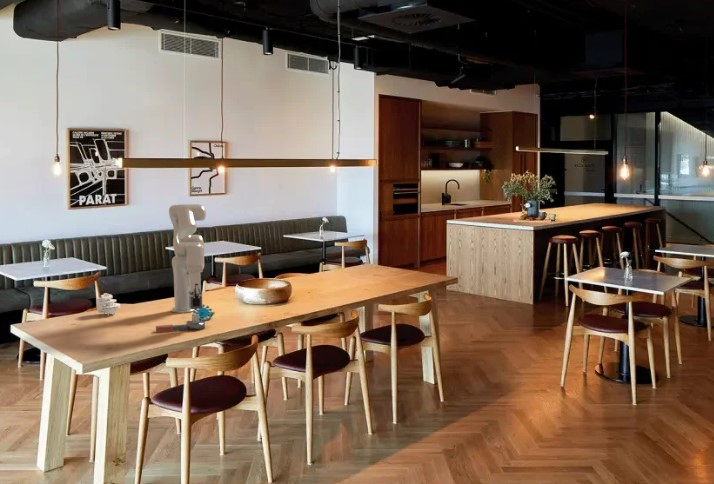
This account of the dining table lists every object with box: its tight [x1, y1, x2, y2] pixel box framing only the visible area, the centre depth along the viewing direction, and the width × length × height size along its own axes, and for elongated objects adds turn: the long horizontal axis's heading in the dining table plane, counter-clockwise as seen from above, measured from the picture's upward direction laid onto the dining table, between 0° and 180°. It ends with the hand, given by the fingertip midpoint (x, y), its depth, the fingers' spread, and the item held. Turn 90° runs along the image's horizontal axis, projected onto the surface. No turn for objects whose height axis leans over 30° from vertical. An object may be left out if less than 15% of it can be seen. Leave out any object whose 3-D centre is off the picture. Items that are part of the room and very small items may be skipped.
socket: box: [189, 290, 203, 310], centre depth 321 cm, size 6×6×8 cm
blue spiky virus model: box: [192, 303, 216, 322], centre depth 343 cm, size 11×6×10 cm
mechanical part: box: [96, 292, 121, 317], centre depth 350 cm, size 11×12×12 cm
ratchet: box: [155, 313, 206, 334], centre depth 319 cm, size 9×24×7 cm, turn 113°
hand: (195, 304), depth 321 cm, fingers closed on socket, 5 cm apart
